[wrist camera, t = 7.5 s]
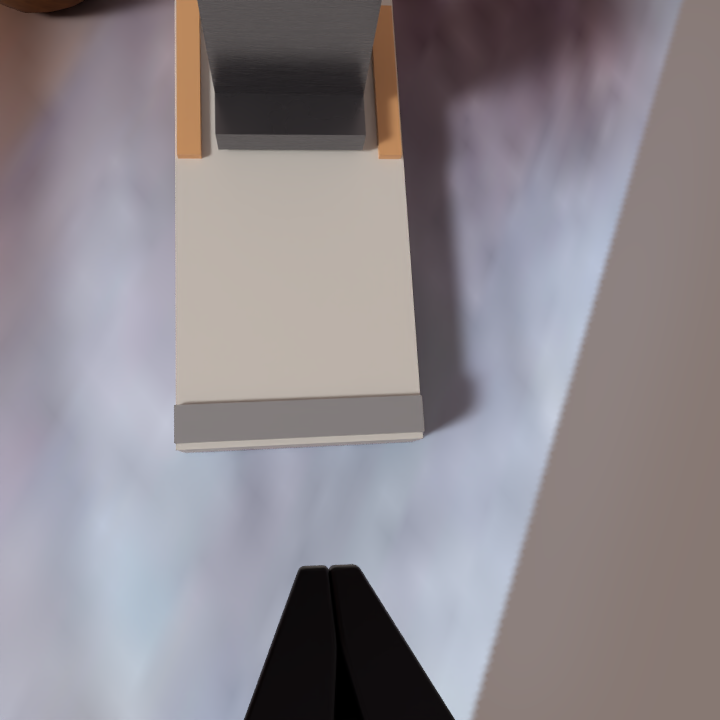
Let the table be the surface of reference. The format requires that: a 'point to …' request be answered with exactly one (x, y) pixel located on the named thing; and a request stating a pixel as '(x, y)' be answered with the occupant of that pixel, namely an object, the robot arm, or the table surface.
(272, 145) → the fader knob
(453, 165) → the table surface
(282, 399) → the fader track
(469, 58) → the table surface
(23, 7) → the wooden figurine
